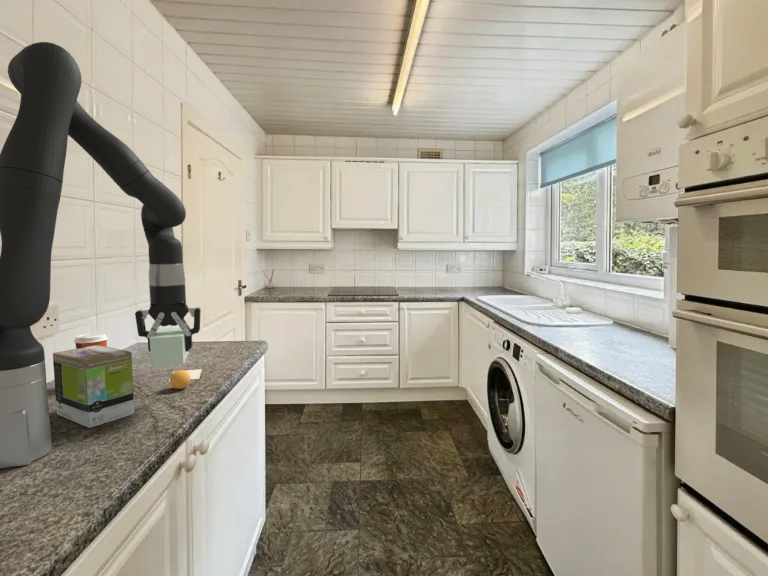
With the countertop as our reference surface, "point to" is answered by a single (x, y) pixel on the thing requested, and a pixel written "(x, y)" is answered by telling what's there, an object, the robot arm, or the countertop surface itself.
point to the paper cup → (91, 340)
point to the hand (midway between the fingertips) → (171, 351)
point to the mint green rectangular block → (168, 347)
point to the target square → (193, 374)
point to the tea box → (93, 384)
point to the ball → (180, 379)
